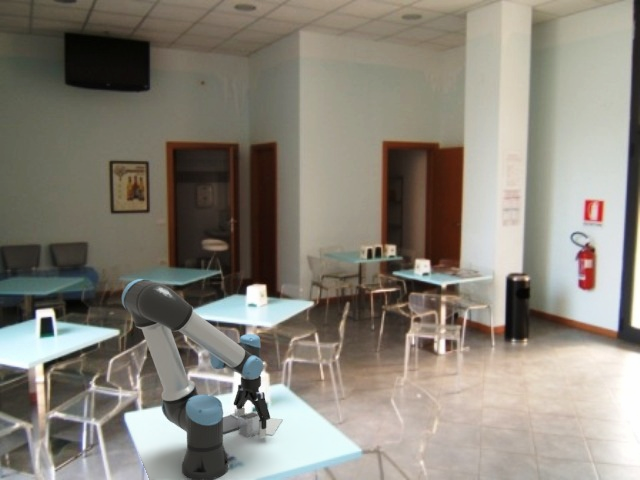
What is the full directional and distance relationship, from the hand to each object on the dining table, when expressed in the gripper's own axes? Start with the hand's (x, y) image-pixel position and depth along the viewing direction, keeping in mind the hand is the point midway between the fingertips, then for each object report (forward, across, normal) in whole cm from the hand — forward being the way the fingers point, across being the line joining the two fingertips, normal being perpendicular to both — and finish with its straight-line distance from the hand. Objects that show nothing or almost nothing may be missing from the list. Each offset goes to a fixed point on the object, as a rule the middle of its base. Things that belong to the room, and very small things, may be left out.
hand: (251, 430), depth 220 cm
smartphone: (+2, 0, -8) cm, 9 cm away
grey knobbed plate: (+1, +12, +3) cm, 13 cm away
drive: (+1, 0, 0) cm, 1 cm away
